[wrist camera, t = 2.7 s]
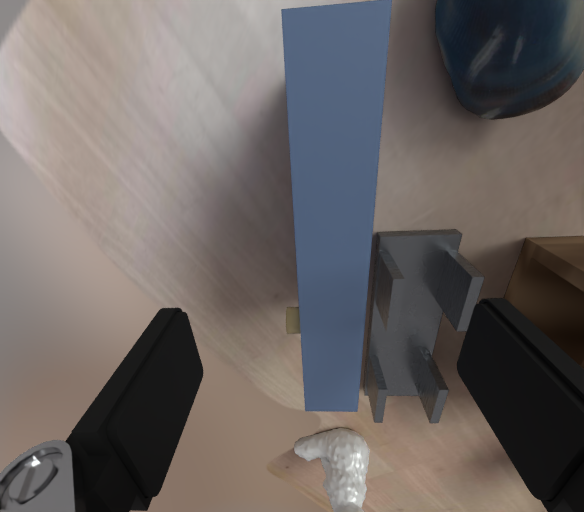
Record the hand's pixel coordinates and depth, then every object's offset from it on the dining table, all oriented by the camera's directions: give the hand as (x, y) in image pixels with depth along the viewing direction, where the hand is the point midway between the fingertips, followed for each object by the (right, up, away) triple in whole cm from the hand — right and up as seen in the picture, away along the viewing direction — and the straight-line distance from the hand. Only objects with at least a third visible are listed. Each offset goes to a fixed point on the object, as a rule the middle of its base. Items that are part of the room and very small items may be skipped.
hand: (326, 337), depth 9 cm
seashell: (+11, +17, +8) cm, 22 cm away
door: (+1, +7, +13) cm, 15 cm away
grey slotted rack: (+10, -4, +18) cm, 21 cm away
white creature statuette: (+5, -23, +29) cm, 37 cm away
